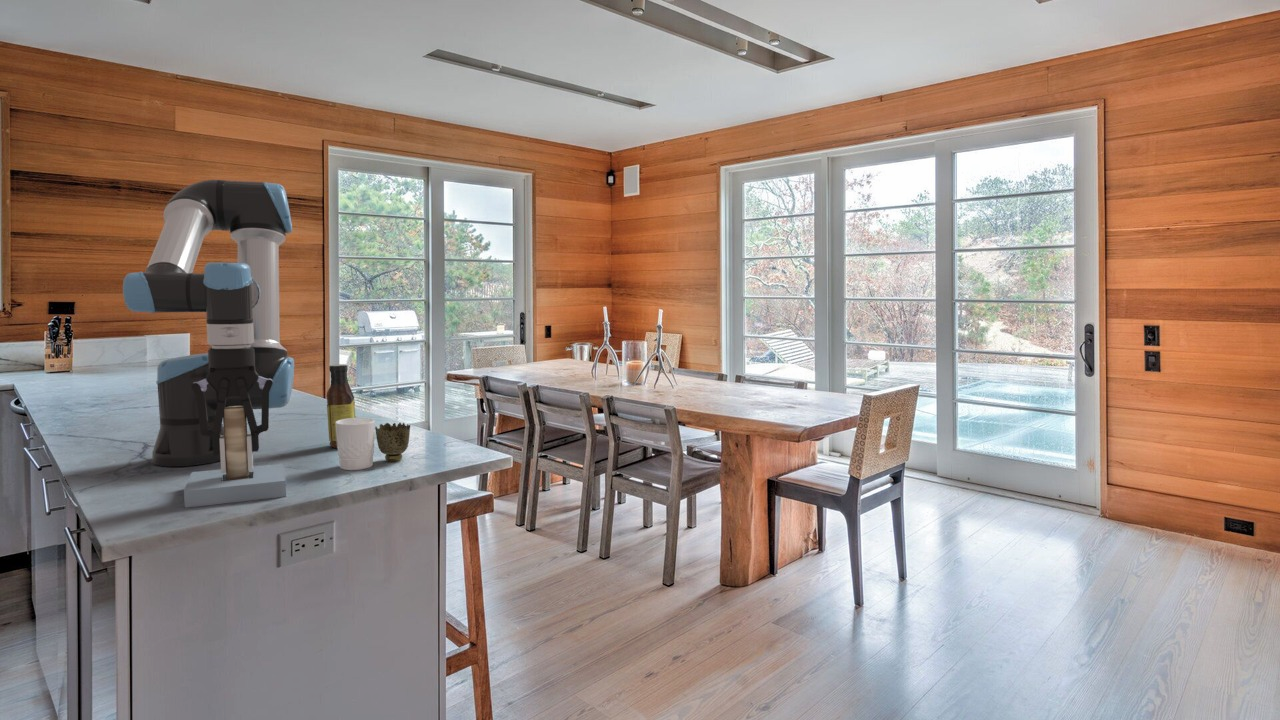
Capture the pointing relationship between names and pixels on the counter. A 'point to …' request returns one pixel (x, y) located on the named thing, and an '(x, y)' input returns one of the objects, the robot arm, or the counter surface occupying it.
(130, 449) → the counter surface
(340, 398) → the sauce bottle
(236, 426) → the dowel
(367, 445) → the white cup
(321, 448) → the counter surface
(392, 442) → the cup
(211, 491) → the block
